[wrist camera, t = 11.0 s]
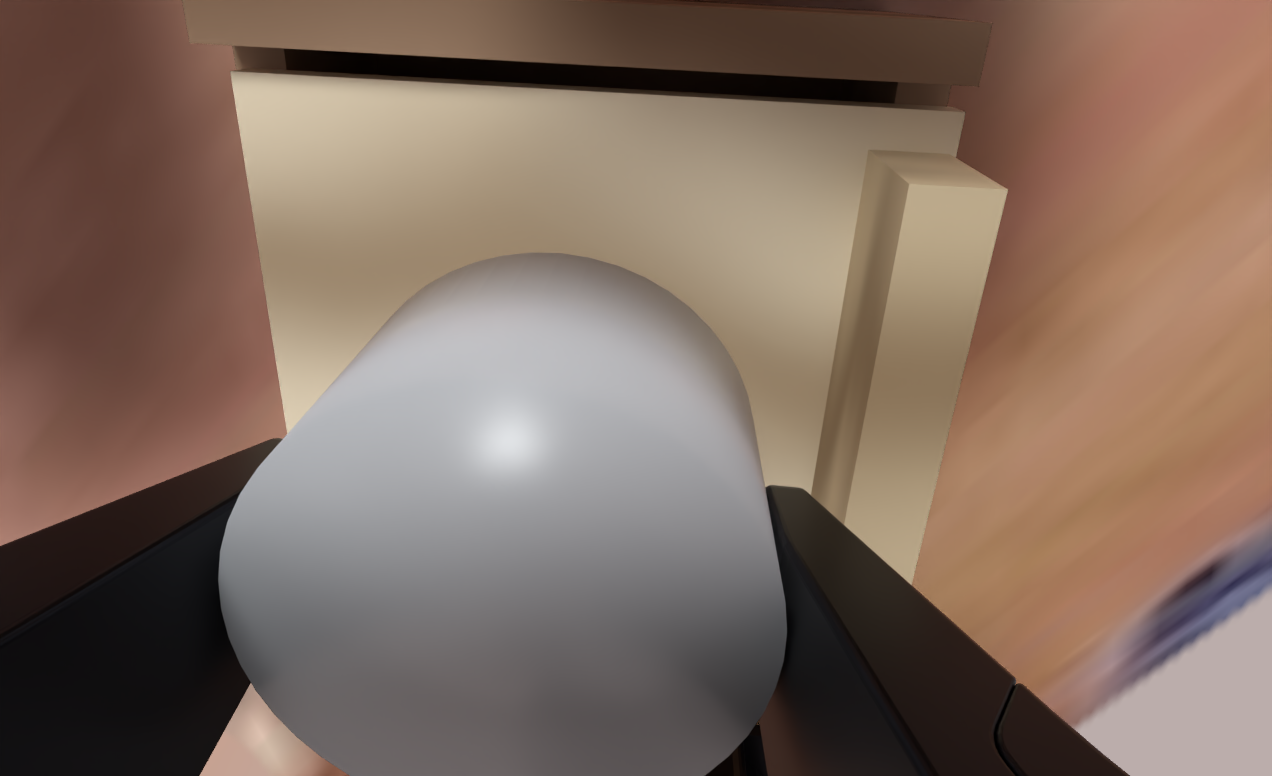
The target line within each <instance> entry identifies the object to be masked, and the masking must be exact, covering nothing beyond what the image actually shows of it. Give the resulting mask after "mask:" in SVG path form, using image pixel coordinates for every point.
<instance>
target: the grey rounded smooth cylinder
mask: <svg viewBox="0 0 1272 776" xmlns="http://www.w3.org/2000/svg"><path fill="white" fill-rule="evenodd" d="M218 583H219V593H220V603H221V610H222V614H223V618H224V622H225V626H226V629H227V633H228V637H229V639H230V642H231V644H232V646H233V649H234V651H235V653H236V656H237V658H238V660H239V663H240V665H241V667H242V668H243V670H244V672H245V673H246V675H247V677H248V678H249V680H250V682H251V683H252V685H253V687H254V688H255V690H256V691H257V693H258V694H259V695H260V696H261V698H262V699H263V700H264V702H265V703H266V704H267V705H268V707H269V708H270V709H271V711H272V712H273V713H274V714H275V715H276V716H277V717H278V718H279V719H280V720H281V721H282V722H283V723H284V725H285V726H286V727H287V728H288V729H289V730H290V731H291V732H292V733H293V734H294V735H295V736H296V737H298V738H299V739H300V740H301V741H302V742H304V743H305V744H306V745H307V746H309V747H310V748H311V749H312V750H313V751H315V752H316V753H317V754H318V755H320V756H321V757H322V758H324V759H325V760H327V761H328V762H330V763H331V764H333V765H334V766H336V767H337V768H339V769H340V770H342V771H343V772H345V773H347V774H348V775H350V776H705V775H706V774H707V773H709V772H710V771H711V770H712V769H714V768H715V767H716V766H717V765H719V764H720V763H721V762H722V761H724V760H725V759H726V758H727V757H728V756H729V755H730V754H731V753H732V752H733V751H734V750H735V749H736V748H737V747H738V746H739V745H740V744H741V743H742V741H743V740H744V739H745V738H746V737H747V736H748V735H749V733H750V732H751V730H752V729H753V728H754V726H755V725H756V723H757V722H758V720H759V719H760V717H761V716H762V715H763V713H764V711H765V709H766V707H767V705H768V703H769V701H770V699H771V697H772V695H773V693H774V690H775V688H776V685H777V682H778V679H779V675H780V672H781V668H782V665H783V662H784V654H785V646H786V637H787V621H786V602H785V597H784V591H783V585H782V580H781V574H780V568H779V563H778V557H777V551H776V545H775V540H774V534H773V528H772V523H771V517H770V511H769V506H768V500H767V494H766V488H765V483H764V477H763V471H762V466H761V460H760V454H759V449H758V443H757V437H756V431H755V426H754V420H753V415H752V411H751V406H750V402H749V397H748V394H747V391H746V388H745V386H744V383H743V380H742V378H741V375H740V372H739V370H738V369H737V367H736V365H735V363H734V361H733V360H732V358H731V356H730V354H729V352H728V351H727V349H726V348H725V346H724V345H723V344H722V342H721V341H720V340H719V338H718V337H717V336H716V334H715V333H714V332H713V330H712V329H711V328H710V327H709V326H708V325H707V324H706V323H705V322H704V321H703V320H702V319H701V318H700V317H699V316H698V315H697V314H696V313H695V312H694V311H693V310H692V309H691V308H690V307H689V306H687V305H686V304H685V303H684V302H682V301H681V300H680V299H678V298H677V297H676V296H674V295H673V294H672V293H671V292H669V291H668V290H666V289H664V288H662V287H661V286H659V285H657V284H656V283H654V282H652V281H650V280H649V279H647V278H645V277H643V276H641V275H639V274H636V273H634V272H632V271H629V270H627V269H625V268H622V267H620V266H617V265H614V264H610V263H607V262H603V261H600V260H596V259H593V258H589V257H582V256H576V255H569V254H563V253H533V252H531V253H522V254H512V255H503V256H498V257H494V258H490V259H486V260H482V261H478V262H474V263H472V264H469V265H467V266H464V267H461V268H459V269H456V270H454V271H451V272H449V273H447V274H445V275H444V276H442V277H440V278H438V279H437V280H435V281H433V282H431V283H430V284H428V285H426V286H425V287H424V288H422V289H421V290H420V291H418V292H417V293H416V294H414V295H413V296H412V297H411V298H409V299H408V300H407V301H406V302H405V303H404V304H403V305H402V306H401V307H400V308H399V309H398V310H397V311H396V312H395V313H394V314H393V315H392V316H391V317H390V318H389V319H388V321H387V322H386V323H385V324H384V325H383V326H382V327H381V328H380V330H379V331H378V332H377V333H376V334H375V335H374V336H373V338H372V339H371V340H370V341H369V342H368V343H367V344H366V345H365V347H364V348H363V349H362V350H361V351H360V352H359V353H358V355H357V356H356V357H355V358H354V359H353V360H352V361H351V362H350V364H349V365H348V366H347V367H346V368H345V369H344V370H343V372H342V373H341V374H340V375H339V376H338V377H337V378H336V379H335V381H334V382H333V383H332V384H331V385H330V386H329V387H328V389H327V390H326V391H325V392H324V393H323V394H322V395H321V396H320V398H319V399H318V400H317V401H316V402H315V403H314V404H313V406H312V407H311V408H310V409H309V410H308V411H307V412H306V413H305V415H304V416H303V417H302V418H301V419H300V420H299V421H298V423H297V424H296V425H295V426H294V427H293V428H292V429H291V430H290V432H289V433H288V434H287V435H286V436H285V437H284V438H283V440H282V441H281V442H280V443H279V444H278V445H277V446H276V447H275V449H274V450H273V451H272V452H271V453H270V454H269V455H268V457H267V458H266V459H265V460H264V461H263V462H262V463H261V464H260V466H259V467H258V468H257V469H256V471H255V472H254V474H253V475H252V477H251V478H250V480H249V481H248V483H247V484H246V486H245V487H244V489H243V490H242V492H241V493H240V495H239V497H238V499H237V501H236V504H235V506H234V508H233V510H232V513H231V515H230V517H229V519H228V522H227V525H226V529H225V533H224V537H223V541H222V546H221V550H220V561H219V576H218Z"/></svg>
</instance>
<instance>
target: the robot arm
mask: <svg viewBox="0 0 1272 776" xmlns="http://www.w3.org/2000/svg"><path fill="white" fill-rule="evenodd" d="M282 440H283V439H281V438H275V439H270V440H268V441H265V442H263V443H260V444H258V445H255V446H253V447H250V448H247V449H245V450H242V451H240V452H237V453H235V454H232V455H230V456H227V457H225V458H222V459H220V460H217V461H215V462H212V463H209V464H207V465H204V466H202V467H199V468H197V469H194V470H192V471H189V472H187V473H184V474H182V475H179V476H177V477H174V478H171V479H169V480H166V481H164V482H161V483H159V484H156V485H154V486H151V487H149V488H146V489H144V490H141V491H139V492H136V493H134V494H131V495H128V496H126V497H123V498H121V499H118V500H116V501H113V502H111V503H108V504H106V505H103V506H101V507H98V508H96V509H93V510H90V511H88V512H85V513H83V514H80V515H78V516H75V517H73V518H70V519H68V520H65V521H63V522H60V523H58V524H55V525H52V526H50V527H47V528H45V529H42V530H40V531H37V532H35V533H32V534H30V535H27V536H25V537H22V538H20V539H17V540H14V541H12V542H9V543H7V544H4V545H2V546H0V776H199V775H200V774H201V772H202V770H203V768H204V766H205V764H206V762H207V761H208V759H209V757H210V755H211V754H212V752H213V750H214V748H215V746H216V745H217V742H218V741H219V739H220V737H221V736H222V734H223V732H224V730H225V728H226V727H227V725H228V723H229V721H230V719H231V718H232V716H233V714H234V712H235V710H236V708H237V707H238V705H239V703H240V701H241V699H242V698H243V696H244V694H245V692H246V690H247V689H248V687H249V685H250V683H251V682H250V680H249V678H248V677H247V675H246V673H245V672H244V670H243V668H242V667H241V665H240V663H239V660H238V658H237V656H236V653H235V651H234V649H233V646H232V644H231V642H230V639H229V637H228V633H227V629H226V626H225V622H224V618H223V614H222V610H221V603H220V593H219V583H218V576H219V561H220V550H221V546H222V541H223V537H224V533H225V529H226V525H227V522H228V519H229V517H230V515H231V513H232V510H233V508H234V506H235V504H236V501H237V499H238V497H239V495H240V493H241V492H242V490H243V489H244V487H245V486H246V484H247V483H248V481H249V480H250V478H251V477H252V475H253V474H254V472H255V471H256V469H257V468H258V467H259V466H260V464H261V463H262V462H263V461H264V460H265V459H266V458H267V457H268V455H269V454H270V453H271V452H272V451H273V450H274V449H275V447H276V446H277V445H278V444H279V443H280V442H281V441H282ZM765 488H766V494H767V500H768V506H769V511H770V517H771V523H772V528H773V534H774V540H775V545H776V551H777V557H778V563H779V568H780V574H781V580H782V585H783V591H784V597H785V602H786V621H787V637H786V646H785V654H784V662H783V665H782V668H781V672H780V675H779V679H778V682H777V685H776V688H775V690H774V693H773V695H772V697H771V699H770V701H769V703H768V705H767V707H766V709H765V711H764V713H763V715H762V716H761V717H760V719H759V723H760V725H755V726H754V728H753V729H752V730H751V732H750V733H749V735H748V736H747V737H746V738H745V739H744V740H743V741H742V743H741V744H740V745H739V746H738V747H737V748H736V749H735V750H734V751H733V752H732V753H731V754H730V755H729V756H728V757H727V758H726V759H725V760H724V761H722V762H721V763H720V764H719V765H717V766H716V767H715V768H714V769H712V770H711V771H710V772H709V773H707V774H706V775H705V776H1130V775H1128V774H1127V773H1126V772H1125V771H1123V770H1122V769H1121V768H1120V767H1118V766H1117V765H1116V764H1115V763H1113V762H1112V761H1111V760H1110V759H1108V758H1107V757H1106V756H1105V755H1103V754H1102V753H1101V752H1100V751H1099V750H1098V749H1096V748H1095V747H1094V746H1093V745H1092V744H1090V743H1089V742H1088V741H1087V740H1086V739H1085V738H1084V737H1082V736H1081V735H1080V734H1079V733H1078V732H1077V731H1075V730H1074V729H1073V728H1072V727H1071V726H1070V725H1068V724H1067V723H1066V722H1065V721H1064V720H1063V719H1061V718H1060V717H1059V716H1058V715H1057V714H1056V713H1054V712H1053V711H1052V710H1051V709H1050V708H1049V707H1048V706H1047V705H1045V704H1044V703H1043V702H1042V701H1041V700H1040V699H1039V698H1038V697H1036V696H1035V695H1034V694H1033V693H1032V692H1031V691H1030V690H1029V689H1028V688H1026V687H1025V686H1024V685H1023V684H1020V683H1018V684H1016V679H1015V677H1014V676H1013V675H1011V674H1010V673H1009V672H1008V671H1007V670H1006V669H1005V668H1004V667H1003V666H1001V665H1000V664H999V663H998V662H997V661H996V660H995V659H994V658H992V657H991V656H990V655H989V654H988V653H987V652H986V651H985V650H983V649H982V648H981V647H980V646H979V645H978V644H977V643H976V642H975V641H973V640H972V639H971V638H970V637H969V636H968V635H967V634H966V633H964V632H963V631H962V630H961V629H960V628H959V627H958V626H957V625H956V624H954V623H953V622H952V621H951V620H950V619H949V618H948V617H947V616H945V615H944V614H943V613H942V612H941V611H940V610H939V609H938V608H937V607H935V606H934V605H933V604H932V603H931V602H930V601H929V600H928V599H926V598H925V597H924V596H923V595H922V594H921V593H920V592H919V591H918V590H916V589H915V588H914V587H913V586H912V585H911V584H910V583H909V582H907V581H906V580H905V579H904V578H903V577H902V576H901V575H900V574H898V573H897V572H896V571H895V570H894V569H893V568H892V567H891V566H890V565H888V564H887V563H886V562H885V561H884V560H883V559H882V558H881V557H879V556H878V555H877V554H876V553H875V552H874V551H873V550H872V549H871V548H869V547H868V546H867V545H866V544H865V543H864V542H863V541H862V540H860V539H859V538H858V537H857V536H856V535H855V534H854V533H853V532H852V531H850V530H849V529H848V528H847V527H846V526H845V525H844V524H843V523H841V522H840V521H839V520H838V519H837V518H836V517H835V516H834V515H833V514H831V513H830V512H829V511H828V510H827V509H826V508H825V507H824V506H822V505H821V504H820V503H819V502H818V501H817V500H816V499H815V498H813V497H812V496H811V495H810V494H809V493H808V492H807V491H805V490H804V489H802V488H799V487H789V486H778V485H768V486H767V487H765ZM1015 684H1016V685H1015Z"/></svg>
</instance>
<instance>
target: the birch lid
mask: <svg viewBox="0 0 1272 776" xmlns="http://www.w3.org/2000/svg"><path fill="white" fill-rule="evenodd" d="M230 73H231V79H232V86H233V92H234V98H235V105H236V111H237V118H238V124H239V130H240V137H241V143H242V149H243V156H244V162H245V168H246V175H247V181H248V187H249V194H250V200H251V206H252V213H253V219H254V225H255V232H256V238H257V245H258V251H259V257H260V264H261V270H262V276H263V283H264V289H265V295H266V302H267V308H268V314H269V321H270V327H271V333H272V340H273V346H274V352H275V359H276V365H277V371H278V378H279V384H280V391H281V397H282V403H283V410H284V416H285V422H286V429H287V434H288V433H289V432H290V430H291V429H292V428H293V427H294V426H295V425H296V424H297V423H298V421H299V420H300V419H301V418H302V417H303V416H304V415H305V413H306V412H307V411H308V410H309V409H310V408H311V407H312V406H313V404H314V403H315V402H316V401H317V400H318V399H319V398H320V396H321V395H322V394H323V393H324V392H325V391H326V390H327V389H328V387H329V386H330V385H331V384H332V383H333V382H334V381H335V379H336V378H337V377H338V376H339V375H340V374H341V373H342V372H343V370H344V369H345V368H346V367H347V366H348V365H349V364H350V362H351V361H352V360H353V359H354V358H355V357H356V356H357V355H358V353H359V352H360V351H361V350H362V349H363V348H364V347H365V345H366V344H367V343H368V342H369V341H370V340H371V339H372V338H373V336H374V335H375V334H376V333H377V332H378V331H379V330H380V328H381V327H382V326H383V325H384V324H385V323H386V322H387V321H388V319H389V318H390V317H391V316H392V315H393V314H394V313H395V312H396V311H397V310H398V309H399V308H400V307H401V306H402V305H403V304H404V303H405V302H406V301H407V300H408V299H409V298H411V297H412V296H413V295H414V294H416V293H417V292H418V291H420V290H421V289H422V288H424V287H425V286H426V285H428V284H430V283H431V282H433V281H435V280H437V279H438V278H440V277H442V276H444V275H445V274H447V273H449V272H451V271H454V270H456V269H459V268H461V267H464V266H467V265H469V264H472V263H474V262H478V261H482V260H486V259H490V258H494V257H498V256H503V255H512V254H522V253H531V252H533V253H563V254H569V255H576V256H582V257H589V258H593V259H596V260H600V261H603V262H607V263H610V264H614V265H617V266H620V267H622V268H625V269H627V270H629V271H632V272H634V273H636V274H639V275H641V276H643V277H645V278H647V279H649V280H650V281H652V282H654V283H656V284H657V285H659V286H661V287H662V288H664V289H666V290H668V291H669V292H671V293H672V294H673V295H674V296H676V297H677V298H678V299H680V300H681V301H682V302H684V303H685V304H686V305H687V306H689V307H690V308H691V309H692V310H693V311H694V312H695V313H696V314H697V315H698V316H699V317H700V318H701V319H702V320H703V321H704V322H705V323H706V324H707V325H708V326H709V327H710V328H711V329H712V330H713V332H714V333H715V334H716V336H717V337H718V338H719V340H720V341H721V342H722V344H723V345H724V346H725V348H726V349H727V351H728V352H729V354H730V356H731V358H732V360H733V361H734V363H735V365H736V367H737V369H738V370H739V372H740V375H741V378H742V380H743V383H744V386H745V388H746V391H747V394H748V397H749V402H750V406H751V411H752V415H753V420H754V426H755V431H756V437H757V443H758V449H759V454H760V460H761V466H762V471H763V477H764V483H765V487H767V486H768V485H778V486H789V487H799V488H802V489H804V490H805V491H807V492H808V493H809V494H810V495H811V496H812V497H813V498H815V499H816V500H817V501H818V502H819V503H820V504H821V505H822V506H824V507H825V508H826V509H827V510H828V511H829V512H830V513H831V514H833V515H834V516H835V517H836V518H837V519H838V520H839V521H840V522H841V523H843V524H844V525H845V526H846V527H847V528H848V529H849V530H850V531H852V532H853V533H854V534H855V535H856V536H857V537H858V538H859V539H860V540H862V541H863V542H864V543H865V544H866V545H867V546H868V547H869V548H871V549H872V550H873V551H874V552H875V553H876V554H877V555H878V556H879V557H881V558H882V559H883V560H884V561H885V562H886V563H887V564H888V565H890V566H891V567H892V568H893V569H894V570H895V571H896V572H897V573H898V574H900V575H901V576H902V577H903V578H904V579H905V580H906V581H907V582H909V583H910V584H911V585H912V581H913V577H914V572H915V568H916V564H917V560H918V556H919V552H920V548H921V544H922V540H923V536H924V531H925V527H926V523H927V519H928V515H929V511H930V507H931V503H932V499H933V495H934V491H935V486H936V482H937V478H938V474H939V470H940V466H941V462H942V458H943V454H944V450H945V446H946V441H947V437H948V433H949V429H950V425H951V421H952V417H953V413H954V409H955V405H956V401H957V396H958V392H959V388H960V384H961V380H962V376H963V372H964V368H965V364H966V360H967V355H968V351H969V347H970V343H971V339H972V335H973V331H974V327H975V323H976V319H977V315H978V310H979V306H980V302H981V298H982V294H983V290H984V286H985V282H986V278H987V274H988V270H989V265H990V261H991V257H992V253H993V249H994V245H995V241H996V237H997V233H998V229H999V225H1000V220H1001V216H1002V212H1003V208H1004V204H1005V200H1006V196H1007V192H1008V189H1006V188H1004V187H1003V186H1001V185H999V184H998V183H996V182H995V181H993V180H991V179H990V178H988V177H986V176H985V175H983V174H981V173H980V172H978V171H977V170H975V169H973V168H972V167H970V166H968V165H967V164H965V163H963V162H962V161H960V160H959V159H957V158H956V155H957V150H958V145H959V141H960V136H961V131H962V127H963V122H964V117H965V113H966V112H964V111H961V110H959V109H957V108H954V107H945V106H927V105H909V104H891V103H873V102H855V101H837V100H819V99H801V98H783V97H765V96H747V95H729V94H711V93H693V92H675V91H657V90H639V89H621V88H603V87H585V86H567V85H549V84H531V83H513V82H495V81H477V80H459V79H441V78H423V77H405V76H387V75H369V74H351V73H333V72H315V71H297V70H279V69H261V68H246V69H240V70H235V71H230Z"/></svg>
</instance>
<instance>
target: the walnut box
mask: <svg viewBox="0 0 1272 776" xmlns="http://www.w3.org/2000/svg"><path fill="white" fill-rule="evenodd" d="M182 3H183V9H184V14H185V20H186V26H187V31H188V37H189V43H196V44H214V45H232V47H233V53H234V60H235V66H236V70H240V69H246V68H261V69H279V70H297V71H315V72H333V73H351V74H369V75H387V76H405V77H423V78H441V79H459V80H477V81H495V82H513V83H531V84H549V85H567V86H585V87H603V88H621V89H639V90H657V91H675V92H693V93H711V94H729V95H747V96H765V97H783V98H801V99H819V100H837V101H855V102H873V103H891V104H909V105H927V106H945V107H947V104H948V99H949V94H950V89H951V85H959V86H978V87H979V84H980V79H981V74H982V70H983V65H984V61H985V56H986V51H987V47H988V42H989V38H990V33H991V28H992V24H993V23H988V22H978V21H969V20H960V19H951V18H942V17H933V16H924V15H915V14H906V13H897V12H888V11H870V10H851V9H832V8H813V7H794V6H776V5H757V4H738V3H719V2H701V1H682V0H182Z"/></svg>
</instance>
